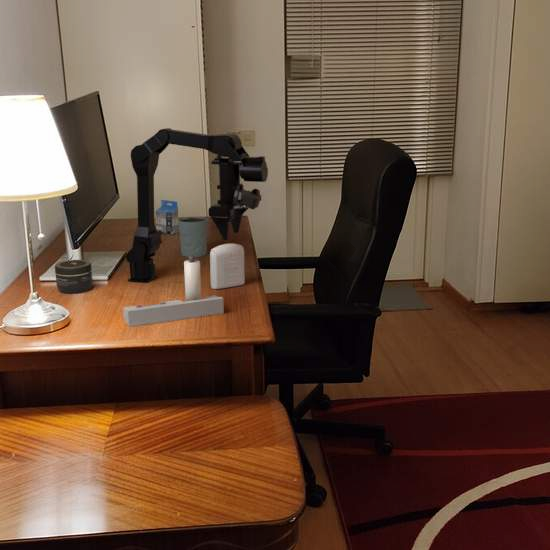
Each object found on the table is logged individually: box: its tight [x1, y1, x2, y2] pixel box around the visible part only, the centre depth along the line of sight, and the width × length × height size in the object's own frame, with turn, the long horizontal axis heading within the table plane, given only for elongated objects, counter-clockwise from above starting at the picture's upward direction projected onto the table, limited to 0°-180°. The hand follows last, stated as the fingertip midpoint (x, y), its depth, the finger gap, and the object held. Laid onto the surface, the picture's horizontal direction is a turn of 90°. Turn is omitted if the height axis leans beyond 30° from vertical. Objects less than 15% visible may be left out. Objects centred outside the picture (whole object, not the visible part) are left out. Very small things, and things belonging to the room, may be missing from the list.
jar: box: [54, 259, 93, 295], centre depth 194 cm, size 10×10×8 cm
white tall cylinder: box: [183, 255, 202, 302], centre depth 174 cm, size 4×4×14 cm
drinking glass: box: [178, 216, 209, 258], centre depth 232 cm, size 10×10×12 cm
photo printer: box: [209, 243, 246, 290], centre depth 195 cm, size 10×4×12 cm, turn 123°
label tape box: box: [155, 199, 179, 235], centre depth 265 cm, size 9×4×12 cm, turn 55°
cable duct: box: [122, 294, 225, 328], centre depth 172 cm, size 24×6×4 cm, turn 113°
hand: (231, 236), depth 193 cm, fingers open, 9 cm apart
